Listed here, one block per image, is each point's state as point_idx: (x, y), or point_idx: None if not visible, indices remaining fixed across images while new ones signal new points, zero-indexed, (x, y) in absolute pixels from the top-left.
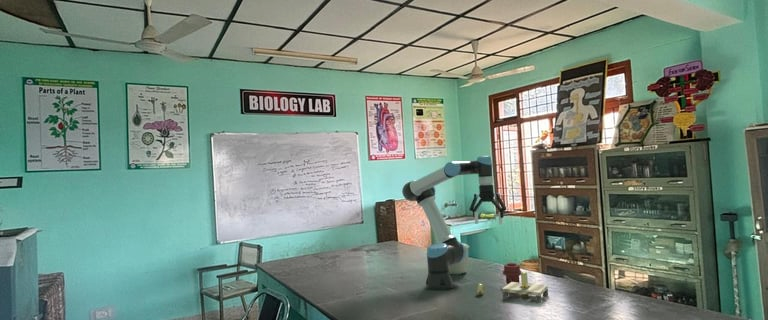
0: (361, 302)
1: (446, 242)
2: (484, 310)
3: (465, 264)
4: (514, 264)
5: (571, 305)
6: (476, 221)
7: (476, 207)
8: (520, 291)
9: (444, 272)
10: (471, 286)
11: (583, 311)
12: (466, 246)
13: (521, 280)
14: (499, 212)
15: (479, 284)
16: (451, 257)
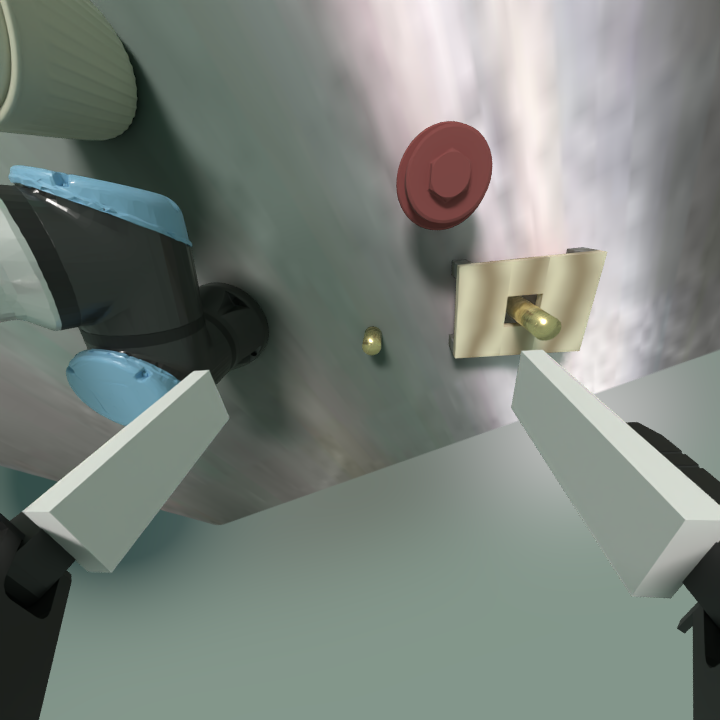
0: (200, 480)
1: (78, 323)
2: (438, 432)
3: (106, 55)
4: (468, 180)
5: (655, 315)
6: (212, 432)
7: (21, 717)
8: (513, 353)
9: (234, 359)
10: (302, 271)
11: (684, 349)
12: None
13: (522, 325)
14: (653, 585)
15: (370, 347)
16: (200, 339)
